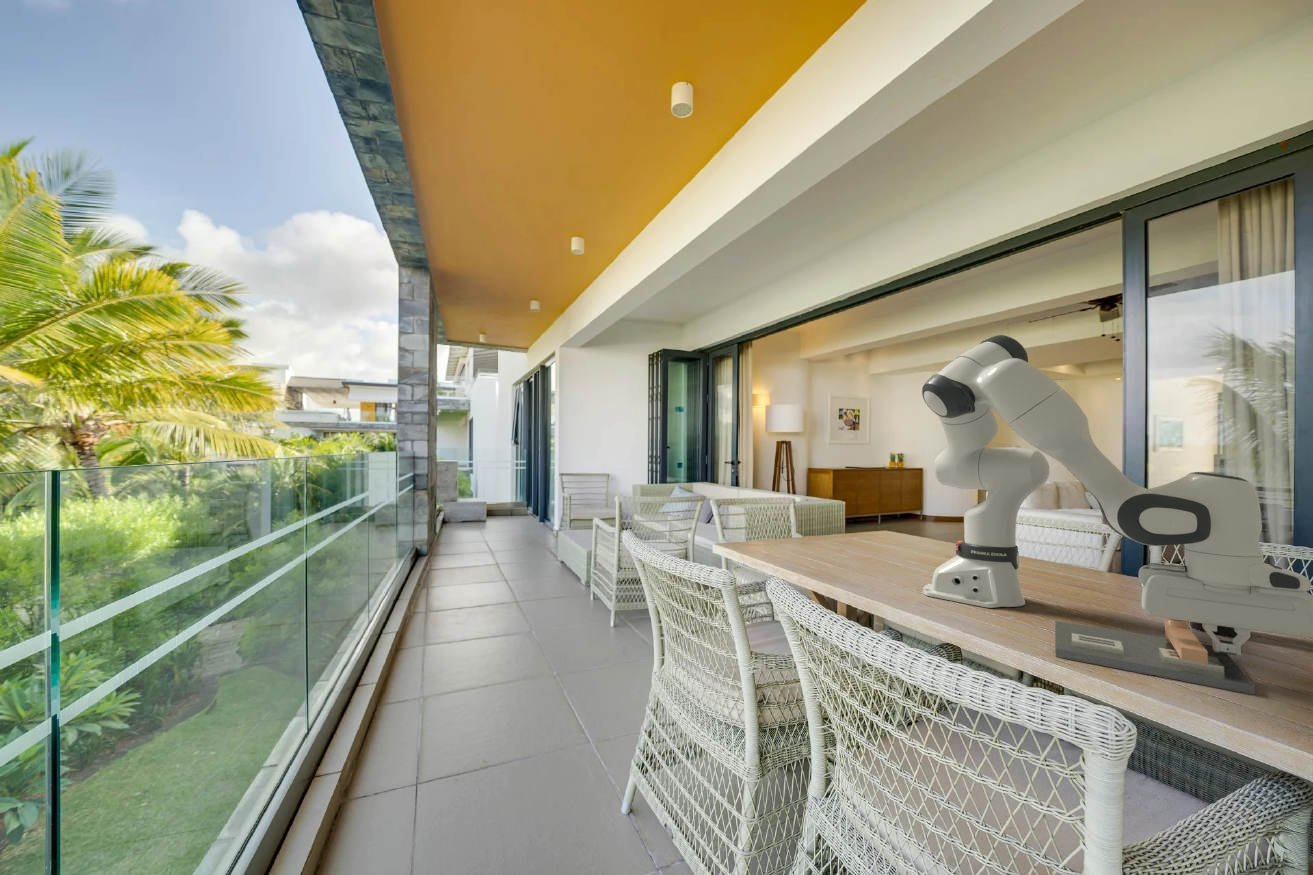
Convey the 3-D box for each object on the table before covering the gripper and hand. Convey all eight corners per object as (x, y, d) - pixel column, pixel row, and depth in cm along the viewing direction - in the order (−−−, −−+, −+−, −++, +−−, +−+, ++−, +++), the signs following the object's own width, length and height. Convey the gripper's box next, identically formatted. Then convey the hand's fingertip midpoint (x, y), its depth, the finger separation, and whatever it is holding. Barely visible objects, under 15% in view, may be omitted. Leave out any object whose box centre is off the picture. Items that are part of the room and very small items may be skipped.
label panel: (1055, 656, 92) (1055, 642, 92) (1055, 627, 108) (1055, 615, 108) (1254, 694, 78) (1253, 677, 78) (1221, 654, 93) (1220, 640, 93)
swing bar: (1164, 637, 97) (1163, 612, 97) (1188, 641, 95) (1187, 615, 95) (1181, 666, 84) (1179, 636, 84) (1209, 671, 82) (1207, 641, 82)
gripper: (1140, 564, 89) (1143, 644, 88) (1327, 582, 76) (1331, 675, 76) (1135, 558, 94) (1138, 634, 93) (1310, 574, 81) (1314, 661, 81)
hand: (1226, 652), depth 84 cm, fingers closed
